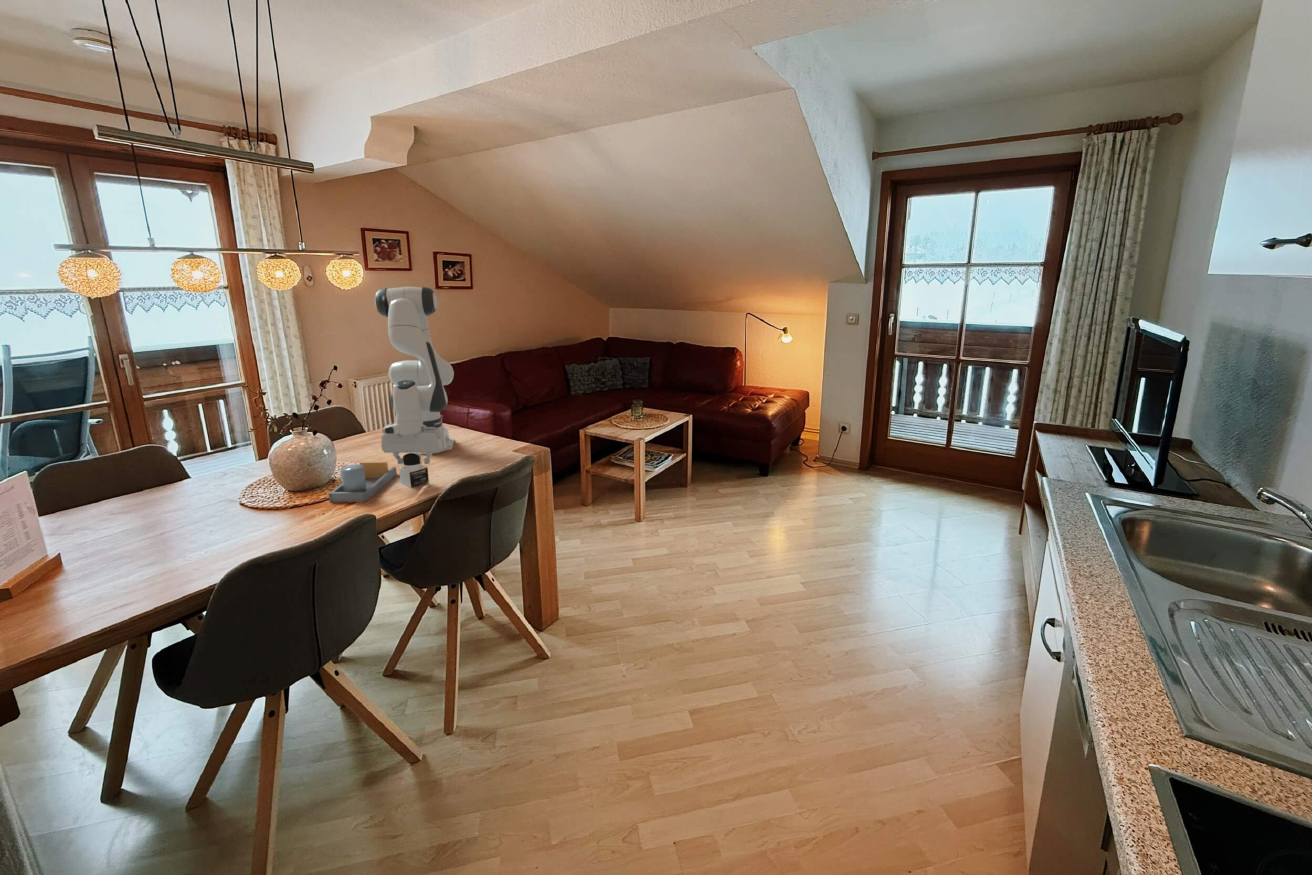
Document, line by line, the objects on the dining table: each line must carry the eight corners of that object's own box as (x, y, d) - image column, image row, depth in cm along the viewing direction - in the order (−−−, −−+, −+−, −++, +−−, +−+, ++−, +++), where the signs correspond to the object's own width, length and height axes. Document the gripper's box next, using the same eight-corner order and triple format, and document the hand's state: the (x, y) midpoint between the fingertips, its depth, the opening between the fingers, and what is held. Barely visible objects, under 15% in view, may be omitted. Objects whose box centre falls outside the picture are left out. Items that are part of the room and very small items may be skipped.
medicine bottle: (411, 490, 205) (407, 458, 202) (400, 485, 209) (396, 454, 206) (429, 484, 210) (426, 453, 207) (418, 480, 215) (415, 449, 211)
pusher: (363, 476, 214) (361, 461, 212) (389, 476, 214) (387, 461, 212) (362, 478, 212) (359, 462, 211) (387, 477, 213) (385, 462, 211)
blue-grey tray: (363, 477, 217) (362, 467, 216) (397, 476, 218) (395, 466, 217) (330, 504, 192) (328, 493, 191) (368, 504, 193) (366, 493, 192)
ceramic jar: (350, 491, 201) (346, 464, 198) (370, 491, 201) (366, 464, 198) (340, 499, 194) (336, 471, 191) (362, 499, 194) (358, 471, 192)
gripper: (442, 424, 207) (445, 460, 211) (384, 424, 206) (389, 460, 210) (436, 429, 201) (440, 466, 205) (377, 429, 200) (382, 466, 204)
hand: (414, 463), depth 208 cm, fingers open, 8 cm apart
